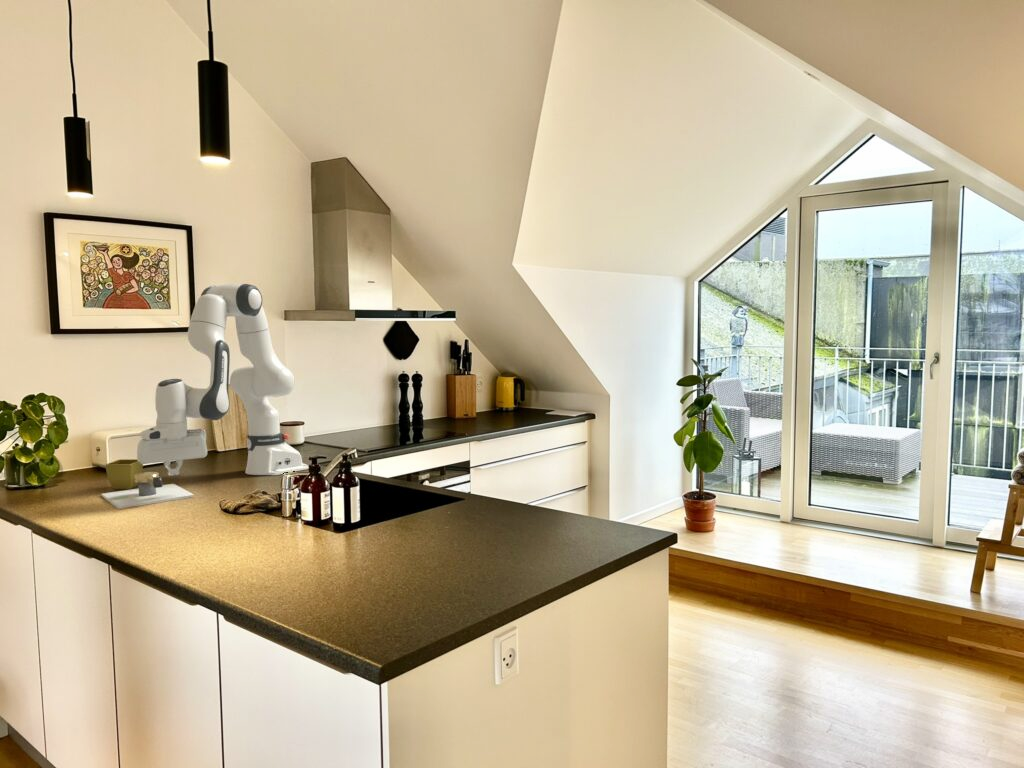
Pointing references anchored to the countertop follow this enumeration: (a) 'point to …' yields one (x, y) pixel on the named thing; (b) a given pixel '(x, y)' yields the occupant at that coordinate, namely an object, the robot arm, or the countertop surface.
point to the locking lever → (149, 479)
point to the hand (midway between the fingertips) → (173, 474)
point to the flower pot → (123, 473)
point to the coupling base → (146, 495)
